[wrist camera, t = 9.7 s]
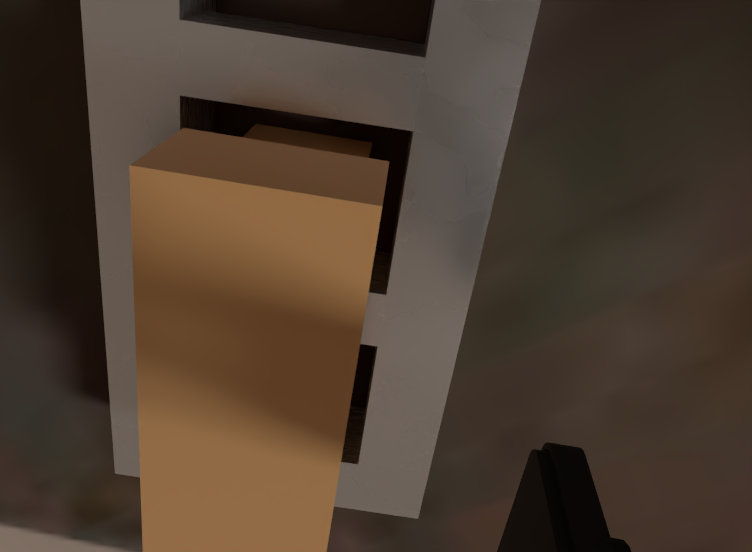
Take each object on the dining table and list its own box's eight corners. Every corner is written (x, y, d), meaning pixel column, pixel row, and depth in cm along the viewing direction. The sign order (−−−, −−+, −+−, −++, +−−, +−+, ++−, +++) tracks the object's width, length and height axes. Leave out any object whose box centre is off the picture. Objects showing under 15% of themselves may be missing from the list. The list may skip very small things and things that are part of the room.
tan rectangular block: (396, 116, 15) (382, 206, 10) (350, 399, 20) (321, 582, 14) (238, 90, 15) (128, 165, 10) (225, 380, 19) (142, 555, 14)
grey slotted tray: (677, -700, 10) (755, -902, 7) (418, 458, 20) (418, 518, 18) (101, -794, 10) (3, -1026, 7) (148, 418, 20) (115, 473, 18)
